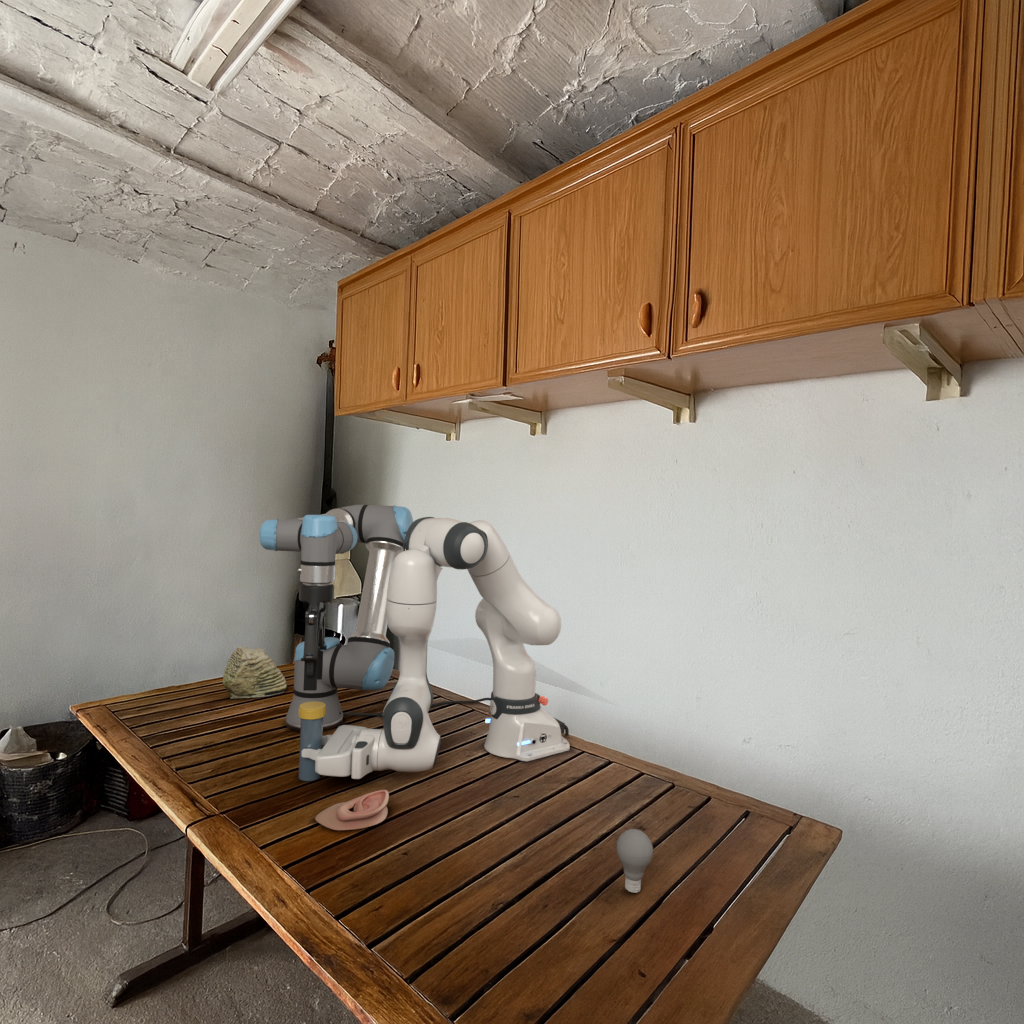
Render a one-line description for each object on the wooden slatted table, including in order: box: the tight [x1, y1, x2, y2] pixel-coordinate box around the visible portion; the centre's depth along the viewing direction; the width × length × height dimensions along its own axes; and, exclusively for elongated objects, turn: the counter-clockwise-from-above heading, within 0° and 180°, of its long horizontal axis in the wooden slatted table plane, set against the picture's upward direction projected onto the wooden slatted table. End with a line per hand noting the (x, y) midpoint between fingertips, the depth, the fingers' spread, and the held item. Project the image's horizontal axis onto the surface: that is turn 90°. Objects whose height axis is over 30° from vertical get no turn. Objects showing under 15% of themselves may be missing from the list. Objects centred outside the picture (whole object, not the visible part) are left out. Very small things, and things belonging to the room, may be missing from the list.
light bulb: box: [615, 828, 654, 894], centre depth 106 cm, size 6×6×10 cm
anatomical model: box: [314, 789, 390, 831], centre depth 126 cm, size 13×4×12 cm
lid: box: [299, 701, 326, 720], centre depth 143 cm, size 6×6×2 cm
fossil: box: [222, 646, 288, 699], centre depth 198 cm, size 9×18×15 cm, turn 132°
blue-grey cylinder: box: [298, 717, 324, 782], centre depth 143 cm, size 5×5×16 cm
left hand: (313, 684), depth 143 cm, fingers open, 8 cm apart
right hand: (306, 746), depth 143 cm, fingers closed on blue-grey cylinder, 5 cm apart
